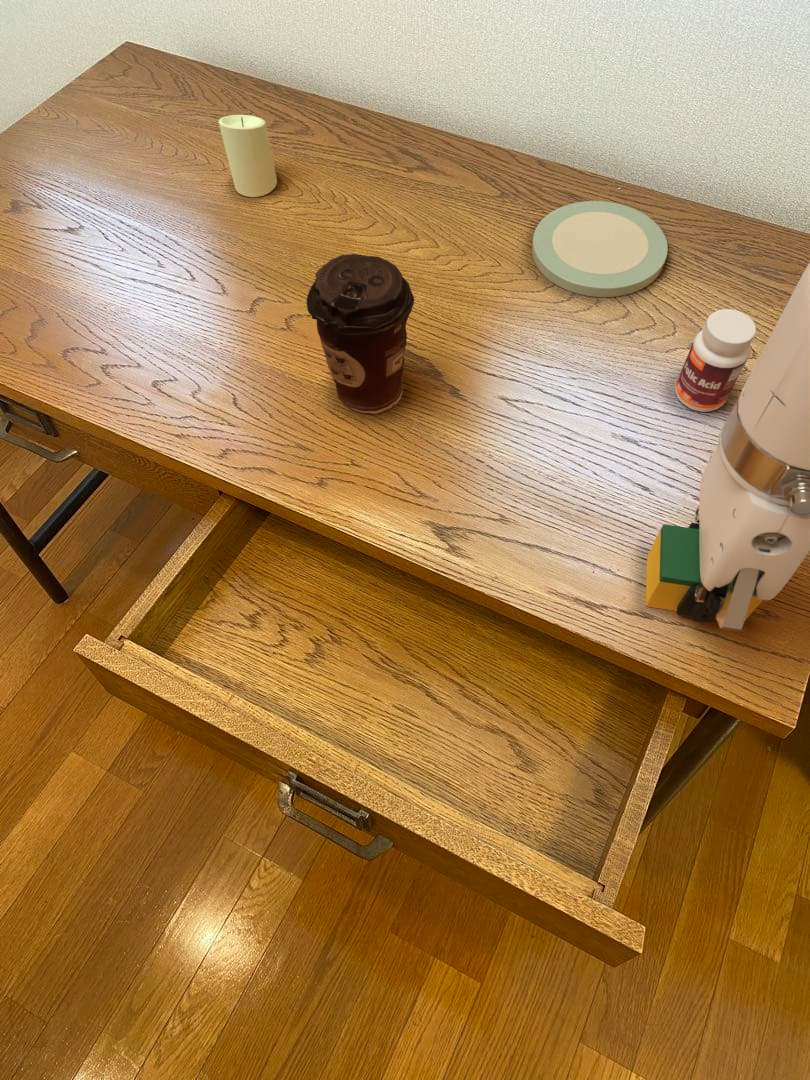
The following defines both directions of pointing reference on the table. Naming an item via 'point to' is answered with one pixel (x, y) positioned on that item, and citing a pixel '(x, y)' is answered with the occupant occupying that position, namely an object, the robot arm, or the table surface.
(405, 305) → the coffee cup
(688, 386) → the pill bottle
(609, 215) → the plate
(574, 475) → the table surface
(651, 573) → the sponge
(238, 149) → the candle
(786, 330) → the robot arm
